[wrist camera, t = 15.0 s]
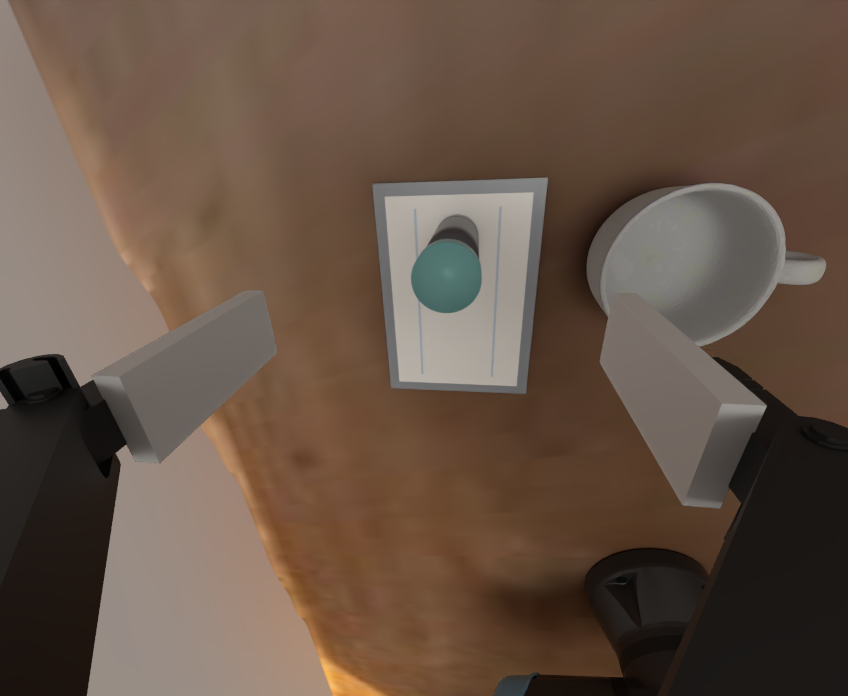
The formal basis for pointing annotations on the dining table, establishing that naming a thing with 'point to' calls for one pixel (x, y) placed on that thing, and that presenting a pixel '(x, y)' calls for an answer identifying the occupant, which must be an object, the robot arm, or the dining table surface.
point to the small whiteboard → (499, 294)
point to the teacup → (697, 257)
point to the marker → (449, 267)
